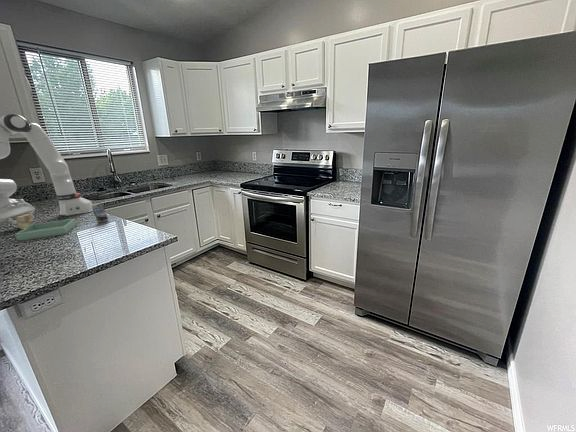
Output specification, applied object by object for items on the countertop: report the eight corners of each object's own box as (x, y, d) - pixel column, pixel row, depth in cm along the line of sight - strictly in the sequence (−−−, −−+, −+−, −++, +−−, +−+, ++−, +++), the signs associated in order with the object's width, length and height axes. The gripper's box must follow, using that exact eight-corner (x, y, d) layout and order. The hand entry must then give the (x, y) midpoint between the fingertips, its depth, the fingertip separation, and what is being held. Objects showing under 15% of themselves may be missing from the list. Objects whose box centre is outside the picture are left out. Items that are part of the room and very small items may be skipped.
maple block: (28, 226, 168) (23, 214, 166) (34, 226, 168) (30, 214, 165) (19, 229, 164) (15, 216, 161) (26, 229, 163) (22, 216, 161)
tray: (77, 224, 167) (75, 218, 166) (66, 233, 151) (63, 227, 150) (34, 230, 160) (31, 224, 159) (17, 240, 144) (14, 234, 143)
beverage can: (102, 223, 167) (97, 205, 164) (93, 222, 169) (88, 205, 165) (110, 219, 173) (106, 202, 169) (101, 219, 175) (96, 202, 171)
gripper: (-13, 207, 152) (8, 223, 153) (25, 198, 171) (43, 212, 173) (-16, 214, 154) (4, 230, 155) (22, 205, 173) (39, 218, 175)
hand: (25, 220), depth 164 cm, fingers open, 8 cm apart
